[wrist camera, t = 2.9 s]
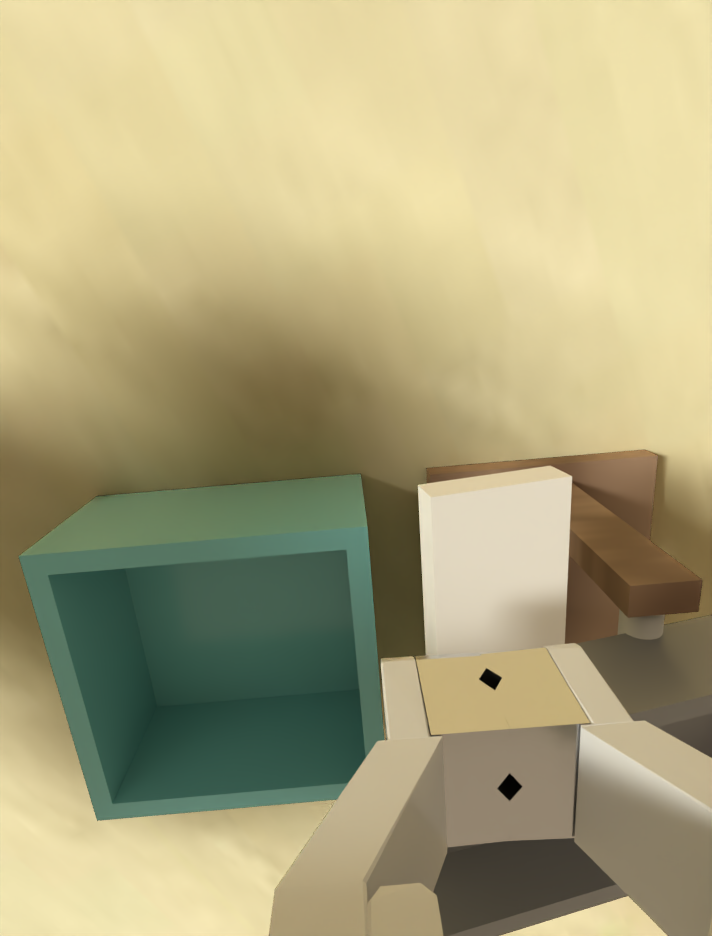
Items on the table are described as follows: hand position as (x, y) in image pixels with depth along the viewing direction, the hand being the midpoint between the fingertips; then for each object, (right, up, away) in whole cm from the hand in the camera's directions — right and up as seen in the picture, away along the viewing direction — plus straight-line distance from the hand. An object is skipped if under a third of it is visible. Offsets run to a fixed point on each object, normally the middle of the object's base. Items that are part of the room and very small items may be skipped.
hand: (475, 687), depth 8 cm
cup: (-7, -3, +17) cm, 19 cm away
